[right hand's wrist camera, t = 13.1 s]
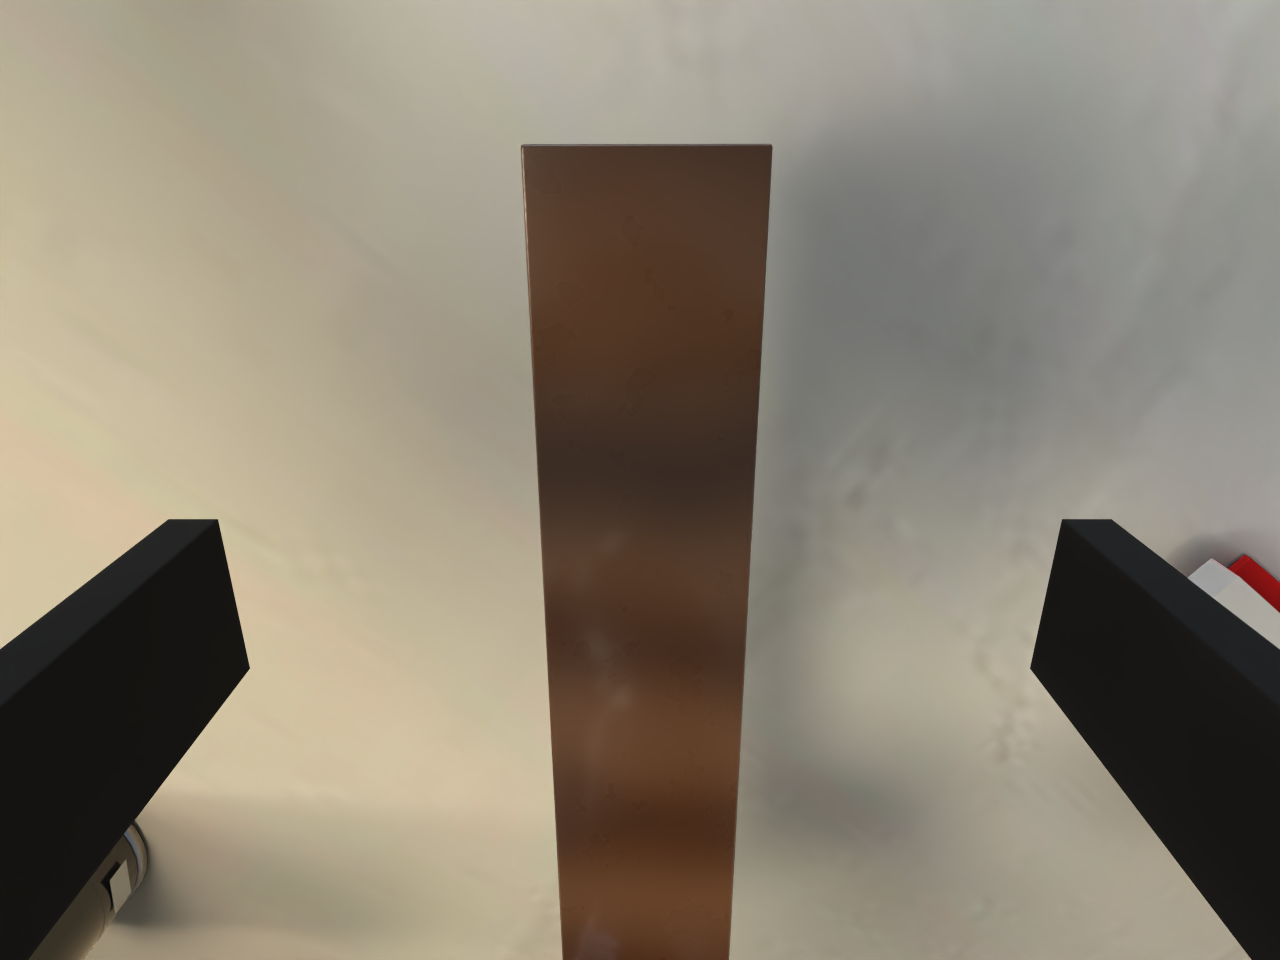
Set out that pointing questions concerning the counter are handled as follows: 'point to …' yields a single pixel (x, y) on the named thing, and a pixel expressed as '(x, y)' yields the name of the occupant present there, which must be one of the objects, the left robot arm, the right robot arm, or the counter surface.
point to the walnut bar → (646, 524)
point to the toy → (1244, 593)
